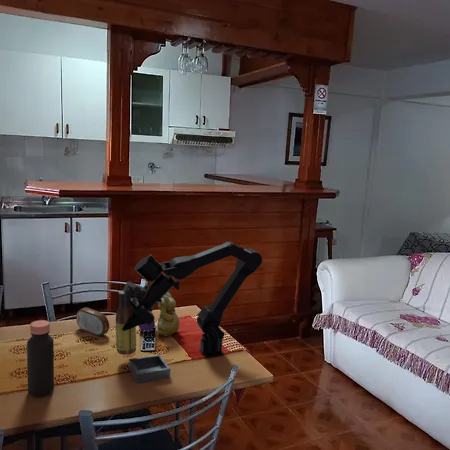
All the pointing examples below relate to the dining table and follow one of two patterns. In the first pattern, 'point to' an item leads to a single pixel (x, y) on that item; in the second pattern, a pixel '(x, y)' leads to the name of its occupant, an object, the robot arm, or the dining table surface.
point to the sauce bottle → (128, 337)
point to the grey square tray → (149, 368)
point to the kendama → (146, 326)
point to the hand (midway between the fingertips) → (121, 325)
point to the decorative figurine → (167, 316)
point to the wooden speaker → (92, 321)
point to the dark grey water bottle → (40, 360)
